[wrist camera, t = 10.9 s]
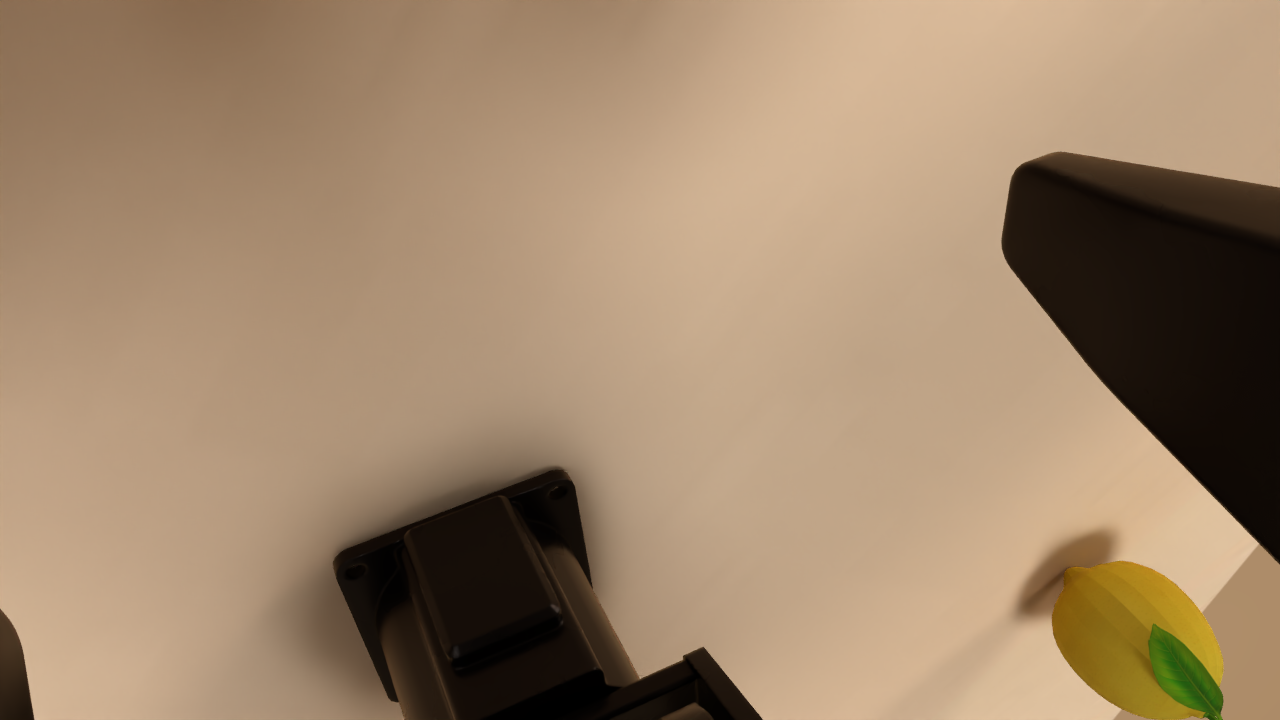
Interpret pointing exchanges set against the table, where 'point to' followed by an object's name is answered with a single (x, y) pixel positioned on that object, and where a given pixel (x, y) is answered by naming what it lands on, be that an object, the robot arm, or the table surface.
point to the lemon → (1139, 642)
